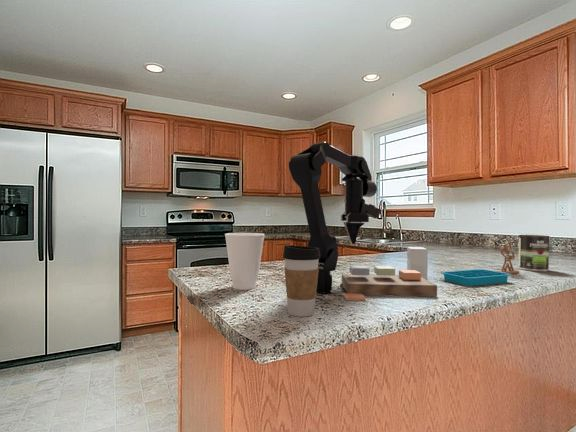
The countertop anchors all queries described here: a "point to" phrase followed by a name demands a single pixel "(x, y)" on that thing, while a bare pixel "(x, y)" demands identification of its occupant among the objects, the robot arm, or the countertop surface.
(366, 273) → the slate button
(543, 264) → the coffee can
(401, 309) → the countertop surface
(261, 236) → the cup
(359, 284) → the wooden sorting tray
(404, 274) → the terracotta button
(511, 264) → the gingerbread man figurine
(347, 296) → the tile
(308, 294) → the coffee cup
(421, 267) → the small box
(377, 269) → the sage button
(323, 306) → the countertop surface
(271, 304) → the countertop surface
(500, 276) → the ice cube tray
